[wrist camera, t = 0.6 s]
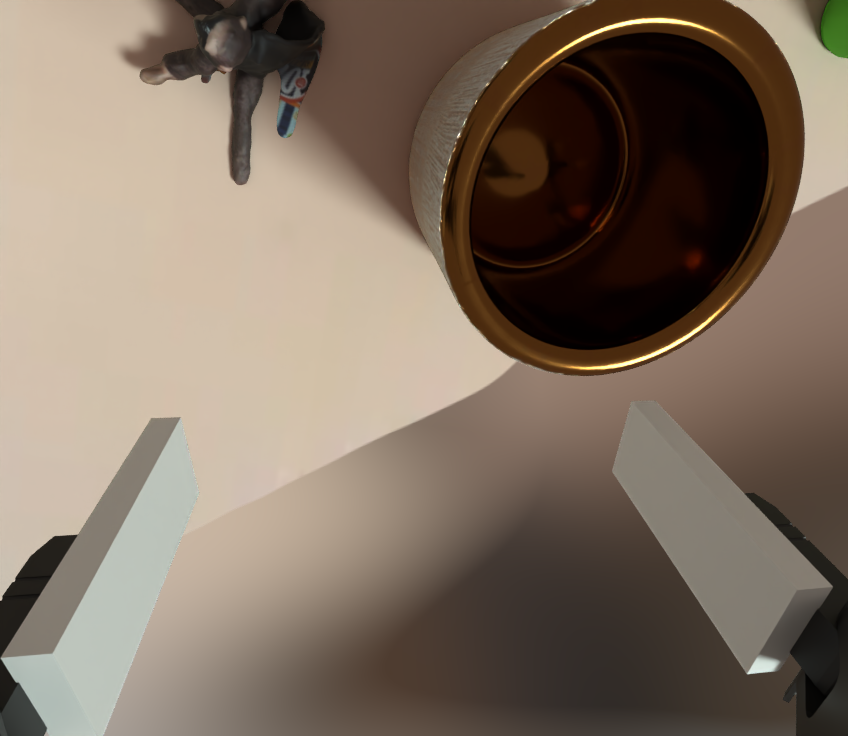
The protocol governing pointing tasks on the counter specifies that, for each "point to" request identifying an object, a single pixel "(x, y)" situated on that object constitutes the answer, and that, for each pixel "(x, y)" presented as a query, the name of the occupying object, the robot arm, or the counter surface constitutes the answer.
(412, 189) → the planter
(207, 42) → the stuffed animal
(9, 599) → the robot arm
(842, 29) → the cup
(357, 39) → the counter surface
